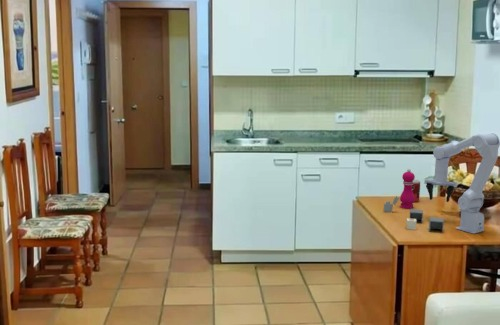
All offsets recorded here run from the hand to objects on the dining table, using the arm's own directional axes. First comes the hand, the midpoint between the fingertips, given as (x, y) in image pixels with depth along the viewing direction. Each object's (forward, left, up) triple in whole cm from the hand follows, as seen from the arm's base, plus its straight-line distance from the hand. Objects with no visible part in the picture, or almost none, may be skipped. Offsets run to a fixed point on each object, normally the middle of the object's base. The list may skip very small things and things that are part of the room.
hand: (439, 200), depth 279 cm
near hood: (-11, +15, -9) cm, 21 cm away
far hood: (+4, +11, -9) cm, 15 cm away
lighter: (+22, +8, -10) cm, 25 cm away
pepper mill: (+24, -6, -10) cm, 27 cm away
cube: (-2, +22, -10) cm, 24 cm away
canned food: (+32, -19, -10) cm, 38 cm away
